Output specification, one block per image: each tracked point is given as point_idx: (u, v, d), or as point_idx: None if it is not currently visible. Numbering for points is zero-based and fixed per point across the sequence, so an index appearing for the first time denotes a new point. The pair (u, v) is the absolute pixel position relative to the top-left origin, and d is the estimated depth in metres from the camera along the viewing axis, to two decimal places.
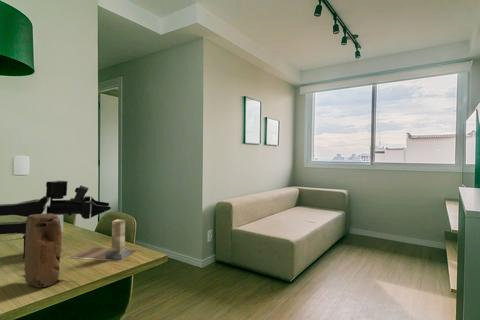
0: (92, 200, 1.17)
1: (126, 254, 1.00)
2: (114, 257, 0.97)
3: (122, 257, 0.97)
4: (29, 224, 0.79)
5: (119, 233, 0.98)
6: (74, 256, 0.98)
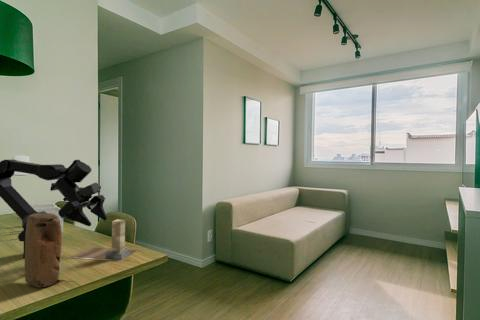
0: (98, 203, 1.06)
1: (126, 254, 1.00)
2: (114, 257, 0.97)
3: (122, 257, 0.97)
4: (29, 224, 0.79)
5: (119, 233, 0.98)
6: (74, 256, 0.98)
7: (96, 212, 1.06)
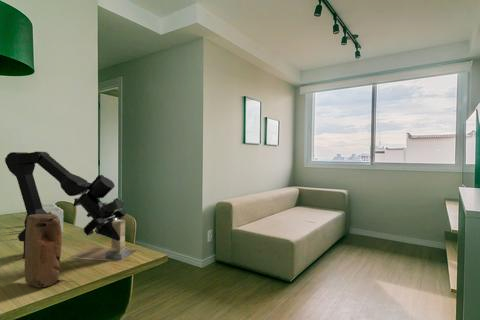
0: None
1: (126, 254, 1.00)
2: (114, 257, 0.97)
3: (122, 257, 0.97)
4: (29, 224, 0.79)
5: (119, 233, 0.98)
6: (74, 256, 0.98)
7: None
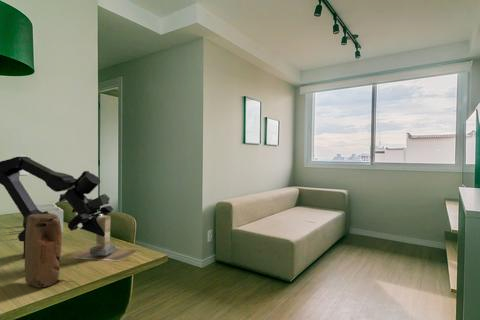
0: None
1: (111, 250, 1.00)
2: (98, 253, 0.97)
3: (106, 253, 0.98)
4: (29, 224, 0.79)
5: (104, 229, 0.98)
6: (74, 256, 0.98)
7: None
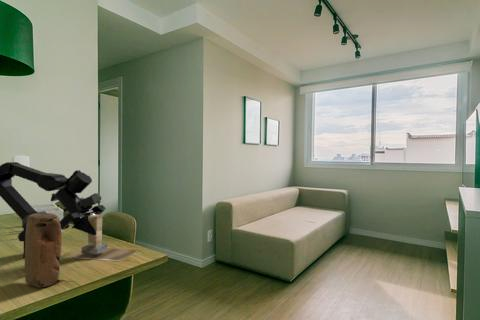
0: None
1: (103, 249, 1.00)
2: (90, 251, 0.97)
3: (98, 251, 0.98)
4: (29, 224, 0.79)
5: (95, 228, 0.99)
6: (74, 256, 0.98)
7: None
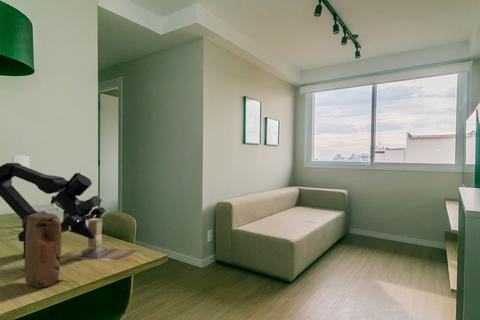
0: (96, 217, 1.04)
1: (103, 253, 1.01)
2: (90, 255, 0.97)
3: (98, 255, 0.98)
4: (29, 224, 0.79)
5: (95, 232, 0.99)
6: (74, 256, 0.98)
7: None
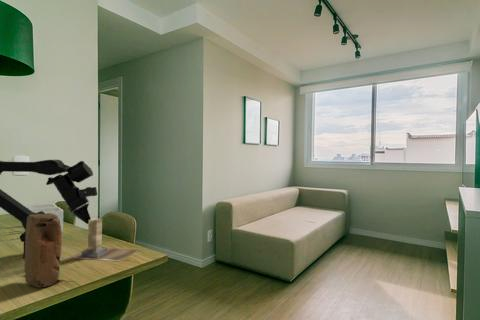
0: None
1: (103, 253, 1.01)
2: (90, 255, 0.97)
3: (98, 255, 0.98)
4: (29, 224, 0.79)
5: (95, 232, 0.99)
6: (74, 256, 0.98)
7: None
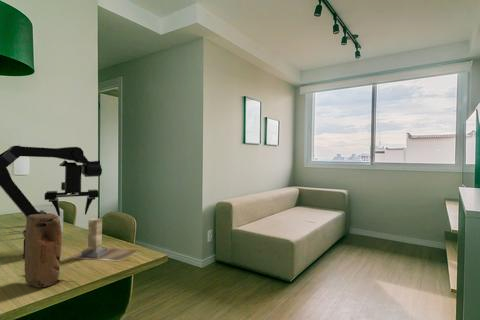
0: None
1: (103, 253, 1.01)
2: (90, 255, 0.97)
3: (98, 255, 0.98)
4: (29, 224, 0.79)
5: (95, 232, 0.99)
6: (74, 256, 0.98)
7: (58, 205, 1.09)
